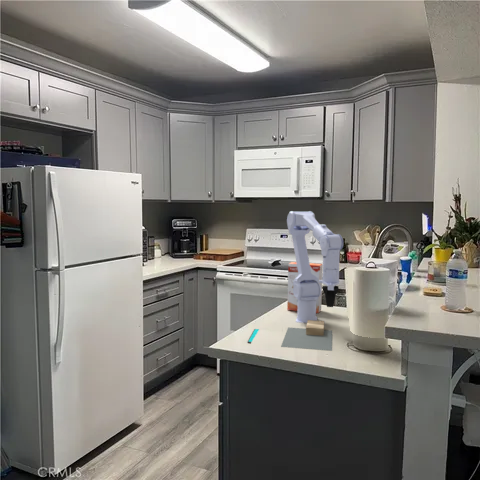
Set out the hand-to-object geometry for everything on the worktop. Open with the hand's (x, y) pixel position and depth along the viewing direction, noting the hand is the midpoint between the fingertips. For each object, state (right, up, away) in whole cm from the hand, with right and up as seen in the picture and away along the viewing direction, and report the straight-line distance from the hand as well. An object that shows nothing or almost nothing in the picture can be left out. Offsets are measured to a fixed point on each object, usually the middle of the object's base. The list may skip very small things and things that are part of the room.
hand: (330, 306), depth 147 cm
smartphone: (-24, -11, -3) cm, 27 cm away
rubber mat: (-9, -10, -6) cm, 15 cm away
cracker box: (-4, -8, +34) cm, 35 cm away
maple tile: (-6, -8, -2) cm, 10 cm away
